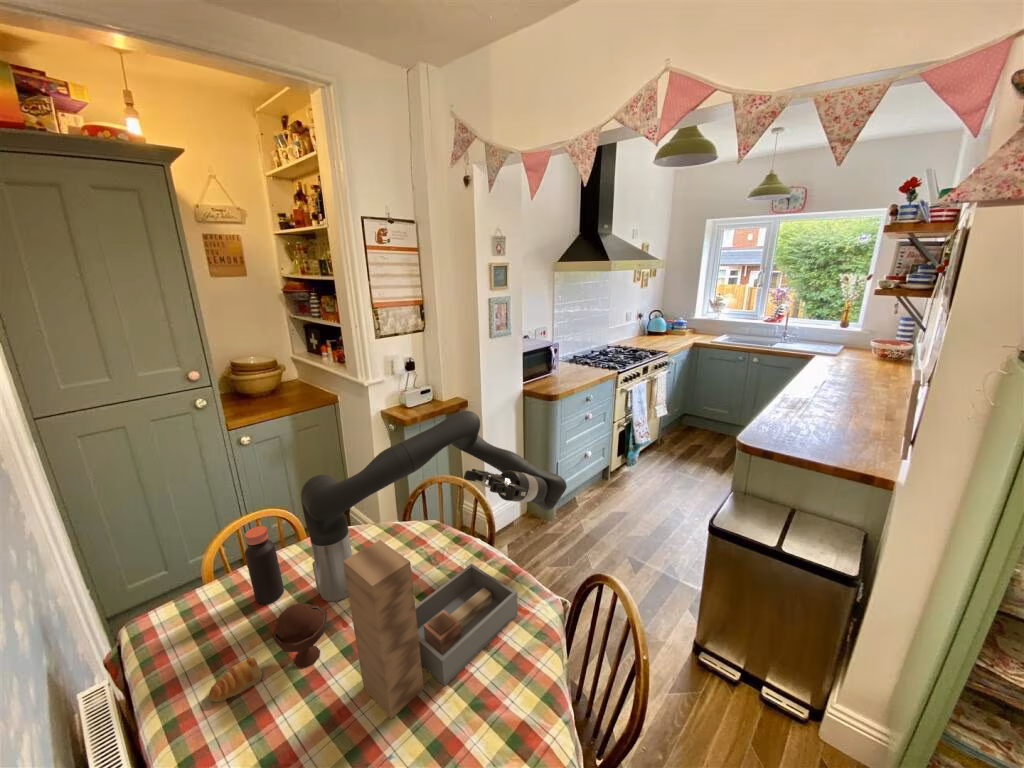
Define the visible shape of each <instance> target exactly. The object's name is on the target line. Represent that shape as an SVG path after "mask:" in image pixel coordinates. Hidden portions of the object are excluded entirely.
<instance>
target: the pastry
mask: <svg viewBox="0 0 1024 768" xmlns="http://www.w3.org/2000/svg"><path fill="white" fill-rule="evenodd" d="M263 676H264V674H263V671H262V669H261V667H260V666H259V665H258V662H257V660H256V658H255V656H252V655H250V656H248V657H247V658H246V659H244V660H242V661H240V662H238V663H236V664H235V665H233V666H231V667H230V668H229V669H228V670H227V671H226V672H225V673H224V674H223V675H222V676H221V677H220V678H219V679H218V680H216V682H215V683H214V684H213V685H212V686H211V688H210V690H209V694H208V695H209V699H210V701H211V702H213V701H214V703H220V702H219V701H221V702H223V701H222V700H224V699H225V700H228V699H230V698H229V697H231V698H233V697H232V696H234V697H236V696H235V695H237V694H239V693H240V694H241V693H243V692H244V691H243V690H245V689H247V688H248V689H250V688H251V686H252V687H254V684H255V685H256V684H257V683H259V682H260V681H261V680H262V678H263ZM249 687H250V688H249ZM248 689H247V690H248ZM242 691H243V692H242ZM245 691H246V690H245ZM240 694H239V695H240ZM237 696H238V695H237ZM227 698H228V699H227ZM225 700H224V701H225Z"/></svg>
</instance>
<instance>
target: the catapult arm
mask: <svg viewBox="0 0 1024 768" xmlns="http://www.w3.org/2000/svg"><path fill="white" fill-rule="evenodd" d="M491 603H492V593H491V592H489V591H488V590H486V589H485V588H482V589H481V590H480V591H479V592H477V593H476V594H475V595H474V596H472V597H471V598H470V599H469V600H467V601H466V602H465V603H464V604H463V605H461V606H460V607H459V608H458V609H456V610H455V611H454V612H453V613H451V614H448V613H447V612H446V611H445V610H443V611H441V612H440V613H439V614H438V615H436V616H435V617H434V618H432V619H431V620H430V621H429V622H427V623H426V624H425V625H424V635H425V640H427V641H428V642H429V643H430V644H431V645H432V646H433V647H434V648H435V649H436V650H438V651H439V652H440V653H441V654H442V653H443V652H444V651H445V650H447V649H448V648H449V647H450V646H451V645H452V644H453V643H455V642H456V641H457V640H458V639H459V638H460V637H461V629H462V628H463V627H465V626H466V625H467V624H468V623H469V622H470V621H472V620H473V619H474V618H475V617H476V616H477V615H479V614H480V613H481V612H482V611H483V610H484V609H485V608H487V607H488V606H489V605H490V604H491Z"/></svg>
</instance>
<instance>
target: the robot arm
mask: <svg viewBox="0 0 1024 768" xmlns="http://www.w3.org/2000/svg"><path fill="white" fill-rule="evenodd" d="M480 428H481V420H480V417H479V416H478V414H477V413H475V412H473V411H470V410H460V411H457V412H456V413H453V414H452V415H450V416H449V417H447V418H445V419H444V420H442V421H440V422H438V423H437V424H435V425H434V426H432V427H430V428H428V429H426V430H424V431H421V432H419V433H417V434H416V435H415V434H414V436H411V437H409V438H407V439H405V440H402V441H400V442H397V443H396V444H394V445H391V446H389V447H387V448H385V449H384V450H382V451H381V452H379V453H378V454H377V455H376V456H375V457H373V459H372V460H371V461H370V462H369V463H368V464H367V465H366V466H365V467H364V468H363V469H361V470H360V471H359V472H357V473H356V474H354V475H353V476H350V477H348V478H346V479H344V480H342V481H337V480H336V479H335V478H334V477H333V476H331V475H328V474H317V475H315V476H314V475H313V476H312V477H311V478H309V479H308V480H307V481H306V482H305V483H304V485H303V486H302V489H301V492H300V500H301V501H300V502H301V505H302V511H303V516H304V521H305V526H306V529H307V532H308V535H309V541H310V545H311V550H312V555H313V560H314V561H313V562H312V563H311V565H312V570H313V574H314V581H315V585H316V590H317V593H318V594H320V597H321V598H322V599H323V600H324V601H327V602H337V601H341V600H344V599H346V598H347V597H349V595H348V589H347V583H346V577H345V571H344V565H343V561H344V560H346V559H347V558H349V557H351V556H353V551H352V544H351V539H350V532H349V525H348V524H349V523H348V521H347V519H346V518H347V517H346V516H345V512H346V511H348V510H350V509H351V508H352V507H354V506H356V505H358V504H359V503H360V502H362V501H363V500H365V499H367V498H368V497H370V496H372V495H374V494H375V493H377V492H379V491H381V490H383V489H385V488H386V487H388V486H390V485H392V484H393V483H396V482H398V481H400V480H402V479H403V478H406V477H408V476H409V475H411V474H414V473H415V472H417V471H418V470H420V469H421V468H422V467H424V466H425V465H426V464H428V463H429V462H430V461H431V460H432V459H433V457H435V456H436V455H438V454H439V453H440V452H441V451H442V450H443V449H445V448H447V447H448V446H450V445H451V446H453V447H455V448H457V449H458V450H460V451H462V452H464V453H466V454H468V455H470V456H471V457H474V458H476V459H478V460H480V461H482V462H483V463H486V464H488V465H489V466H491V467H493V469H495V470H497V471H499V472H501V474H499V473H493V472H488V471H487V470H480V469H475V468H472V469H471V470H465V472H464V476H463V479H464V480H466V481H470V482H473V483H479V484H480V485H481V486H482V487H485V488H489V492H491V493H495V494H498V496H499V498H501V499H502V500H504V501H506V502H517V503H533V504H535V505H537V506H538V507H539V508H541V509H542V510H545V511H551V510H552V509H554V508H555V506H557V504H558V502H559V501H560V499H561V498H562V496H563V495H564V493H565V491H567V490H566V489H567V482H566V480H565V479H564V478H563V477H562V476H561V475H558V474H556V473H553V472H550V471H546V470H544V469H542V468H540V467H537V466H535V465H533V464H532V463H531V462H529V461H528V460H526V459H525V458H523V457H522V456H520V455H519V454H517V453H516V452H514V451H511V450H508V449H504V448H501V447H498V446H494V445H493V444H490V443H489V442H487V441H486V440H485V439H483V438H482V437H481V436H480V435H479V432H480ZM487 481H488V482H487ZM486 482H487V483H486Z"/></svg>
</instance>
